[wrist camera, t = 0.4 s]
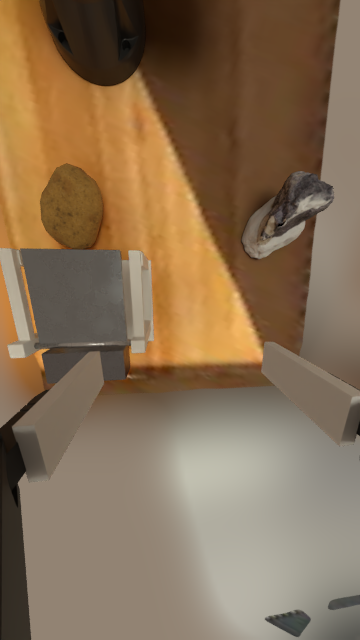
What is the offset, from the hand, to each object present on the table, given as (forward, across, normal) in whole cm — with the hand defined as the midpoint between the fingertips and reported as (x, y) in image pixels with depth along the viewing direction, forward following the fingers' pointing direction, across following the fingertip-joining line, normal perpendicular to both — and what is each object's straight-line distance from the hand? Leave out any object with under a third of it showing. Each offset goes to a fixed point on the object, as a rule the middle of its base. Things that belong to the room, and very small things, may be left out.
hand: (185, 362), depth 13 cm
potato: (+27, -17, +19) cm, 37 cm away
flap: (+17, -14, +1) cm, 22 cm away
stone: (+27, +21, +17) cm, 38 cm away
